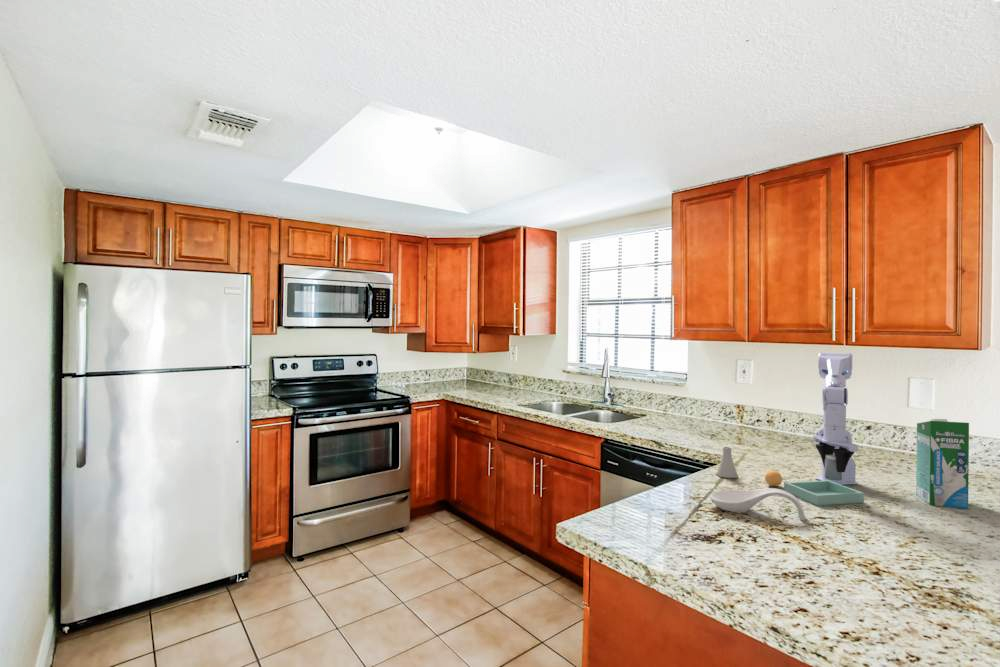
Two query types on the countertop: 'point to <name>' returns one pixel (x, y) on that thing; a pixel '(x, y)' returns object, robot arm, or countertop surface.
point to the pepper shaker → (831, 468)
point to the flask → (727, 465)
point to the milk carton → (943, 463)
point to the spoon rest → (750, 499)
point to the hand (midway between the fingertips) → (834, 469)
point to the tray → (824, 492)
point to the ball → (773, 478)
